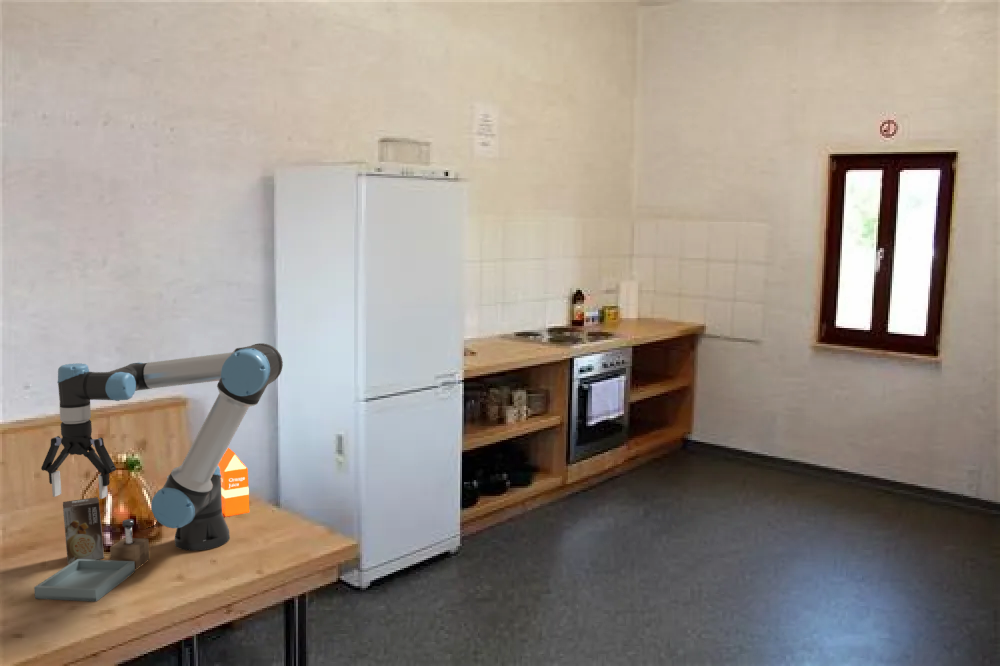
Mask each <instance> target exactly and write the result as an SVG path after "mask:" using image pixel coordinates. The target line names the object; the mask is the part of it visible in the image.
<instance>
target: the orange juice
mask: <svg viewBox="0 0 1000 666" xmlns="http://www.w3.org/2000/svg"><path fill="white" fill-rule="evenodd" d="M218 466H219V467H220V474H221V495H222V514H223V516H224V517H231V516H237V515H238V516H239V515H242V514H249V513H250V489H249V469H248V467H247V466H246V465H245V463H243V461H242V460H240V458H239V457H238V456H237V455H236V452H234V451H233V450H232V449H231V448H229V447H227V449H226V451H225V453H224V455H223V457H222V459H221V461H220V462H219V464H218Z"/></svg>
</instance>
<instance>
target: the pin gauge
mask: <svg viewBox="0 0 1000 666" xmlns="http://www.w3.org/2000/svg"><path fill="white" fill-rule="evenodd" d="M134 525H135V520H134V519H133V518H128V519H124V520H122V527H123V528H124V535H125V536H124V538H126V545H132V544H133V538H134V537H133V526H134Z"/></svg>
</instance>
